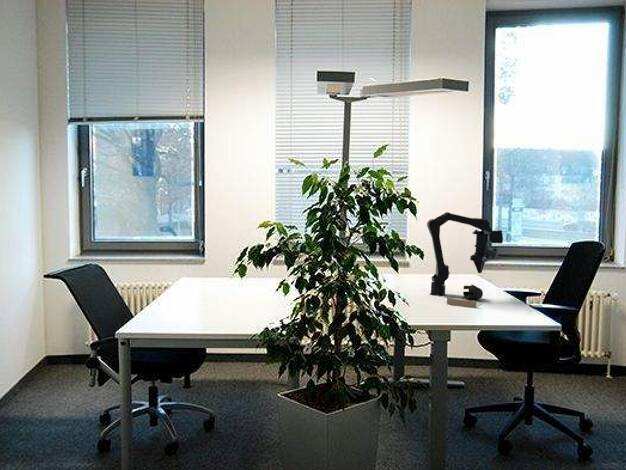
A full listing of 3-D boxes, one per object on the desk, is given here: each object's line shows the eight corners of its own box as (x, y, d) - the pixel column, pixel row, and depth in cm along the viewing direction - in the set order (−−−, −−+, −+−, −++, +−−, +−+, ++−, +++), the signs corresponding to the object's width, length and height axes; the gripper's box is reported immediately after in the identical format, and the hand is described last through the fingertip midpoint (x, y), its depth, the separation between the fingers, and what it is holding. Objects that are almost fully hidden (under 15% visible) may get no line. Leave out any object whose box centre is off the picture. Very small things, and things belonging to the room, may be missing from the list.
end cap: (482, 301, 322) (483, 287, 321) (468, 301, 322) (469, 287, 321) (476, 297, 332) (477, 284, 331) (462, 297, 332) (463, 284, 331)
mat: (446, 304, 313) (447, 298, 312) (456, 299, 326) (456, 293, 326) (475, 308, 306) (475, 301, 306) (483, 302, 319) (484, 296, 319)
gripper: (492, 245, 322) (491, 276, 324) (501, 242, 339) (500, 272, 340) (470, 244, 328) (469, 274, 329) (480, 241, 344) (478, 270, 346)
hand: (480, 272), depth 336 cm, fingers closed
